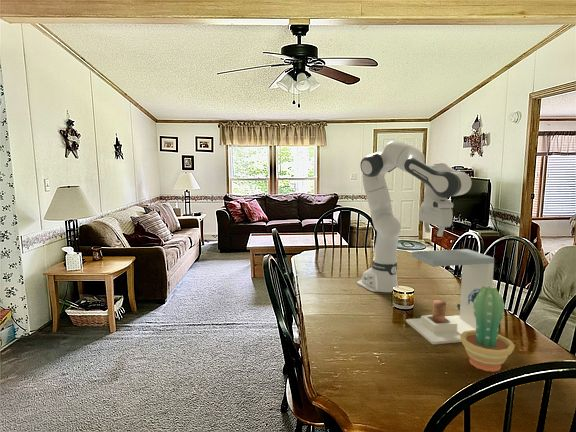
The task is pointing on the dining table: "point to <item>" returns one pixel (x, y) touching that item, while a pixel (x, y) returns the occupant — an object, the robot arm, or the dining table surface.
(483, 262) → the awning socket
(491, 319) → the potted cactus
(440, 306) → the peg
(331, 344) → the dining table surface
